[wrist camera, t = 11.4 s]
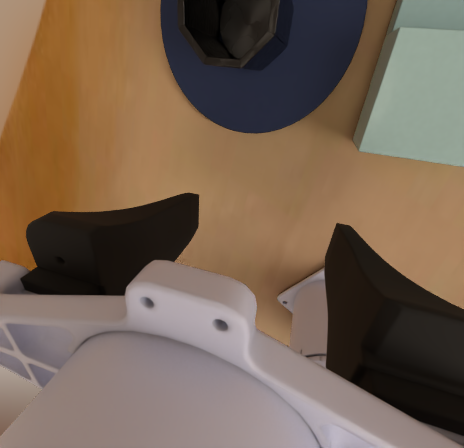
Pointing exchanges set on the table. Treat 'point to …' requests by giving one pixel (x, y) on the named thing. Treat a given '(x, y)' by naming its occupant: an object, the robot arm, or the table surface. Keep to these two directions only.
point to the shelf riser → (418, 86)
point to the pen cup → (236, 30)
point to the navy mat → (270, 68)
